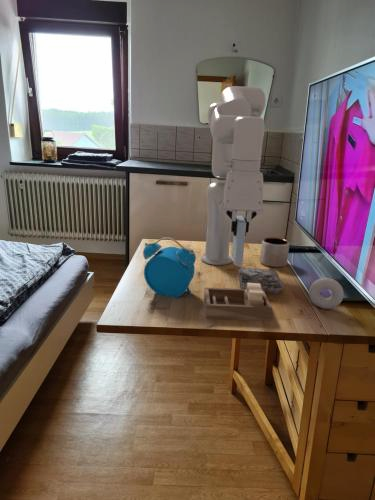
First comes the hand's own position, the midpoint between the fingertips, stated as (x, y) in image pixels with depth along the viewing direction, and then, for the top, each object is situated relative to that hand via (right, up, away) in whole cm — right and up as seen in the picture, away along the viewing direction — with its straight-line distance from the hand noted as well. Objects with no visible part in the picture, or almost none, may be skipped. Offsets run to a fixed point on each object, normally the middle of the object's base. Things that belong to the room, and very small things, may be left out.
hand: (239, 234), depth 105 cm
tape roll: (+28, -23, +13) cm, 38 cm away
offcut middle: (+5, -20, +7) cm, 21 cm away
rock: (+10, -19, +22) cm, 31 cm away
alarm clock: (-20, -19, +17) cm, 33 cm away
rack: (0, -23, +8) cm, 24 cm away
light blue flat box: (0, -7, +2) cm, 8 cm away
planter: (+21, -10, +50) cm, 55 cm away
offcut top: (+5, -17, +6) cm, 19 cm away
